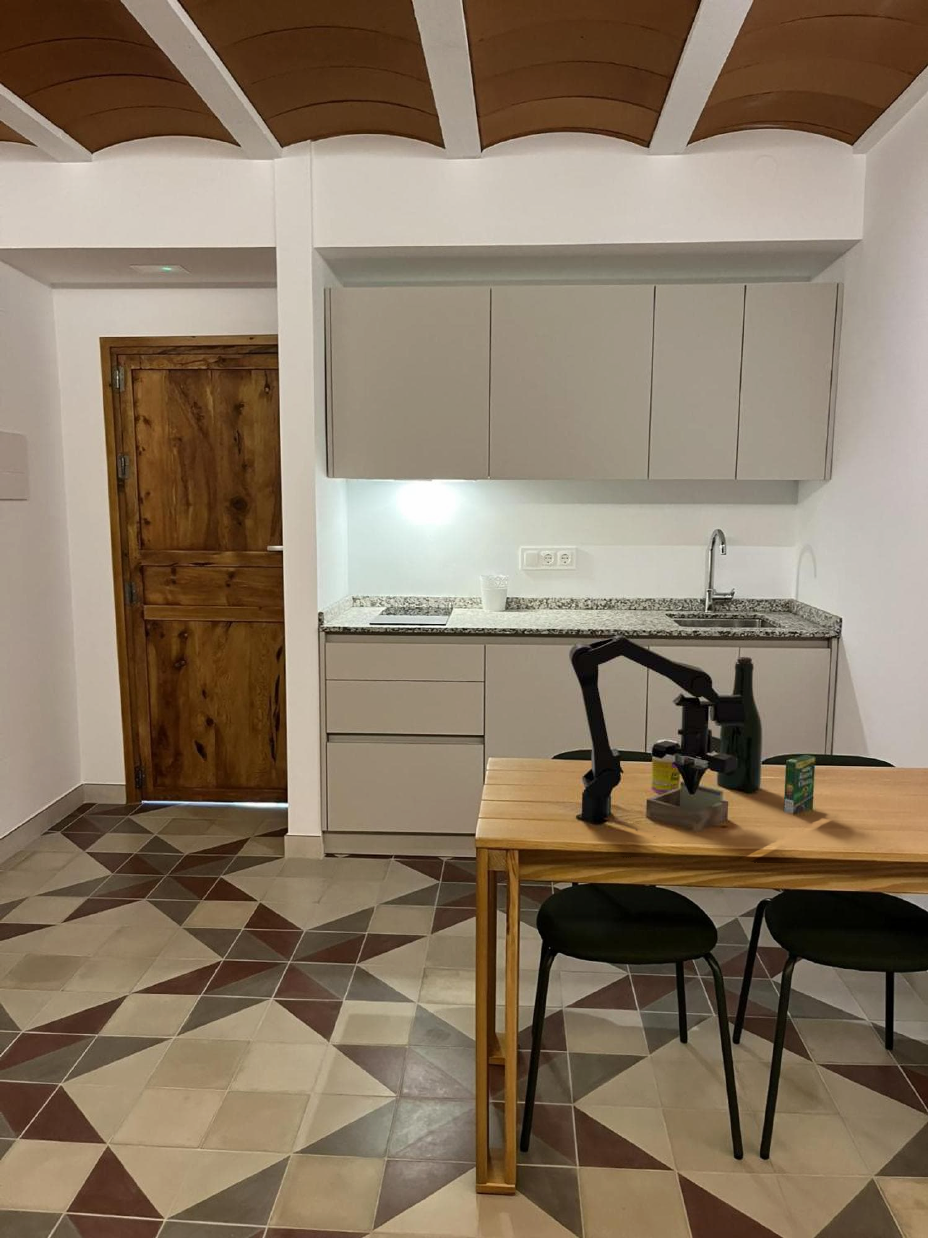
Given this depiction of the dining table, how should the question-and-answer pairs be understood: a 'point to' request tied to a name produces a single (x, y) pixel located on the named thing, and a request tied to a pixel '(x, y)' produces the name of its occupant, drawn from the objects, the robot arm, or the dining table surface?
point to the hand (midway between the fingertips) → (692, 794)
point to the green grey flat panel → (699, 797)
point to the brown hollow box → (684, 812)
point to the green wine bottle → (743, 736)
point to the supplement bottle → (664, 773)
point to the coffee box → (799, 784)
